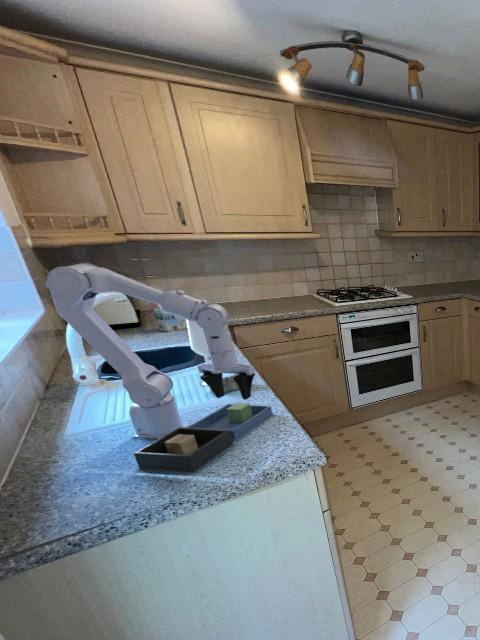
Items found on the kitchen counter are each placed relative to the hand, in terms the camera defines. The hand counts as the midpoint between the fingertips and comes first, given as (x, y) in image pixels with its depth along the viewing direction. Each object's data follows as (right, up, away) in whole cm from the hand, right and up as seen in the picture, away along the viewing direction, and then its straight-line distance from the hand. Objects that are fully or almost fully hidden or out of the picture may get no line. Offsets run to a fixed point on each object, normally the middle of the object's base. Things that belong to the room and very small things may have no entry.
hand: (234, 397), depth 112 cm
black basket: (-1, -14, -15) cm, 20 cm away
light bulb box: (-97, +32, +96) cm, 140 cm away
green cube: (0, -6, +3) cm, 7 cm away
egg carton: (-18, +2, +25) cm, 31 cm away
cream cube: (-3, -13, -14) cm, 19 cm away
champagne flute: (-28, +4, +30) cm, 41 cm away
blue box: (0, -8, 0) cm, 8 cm away
